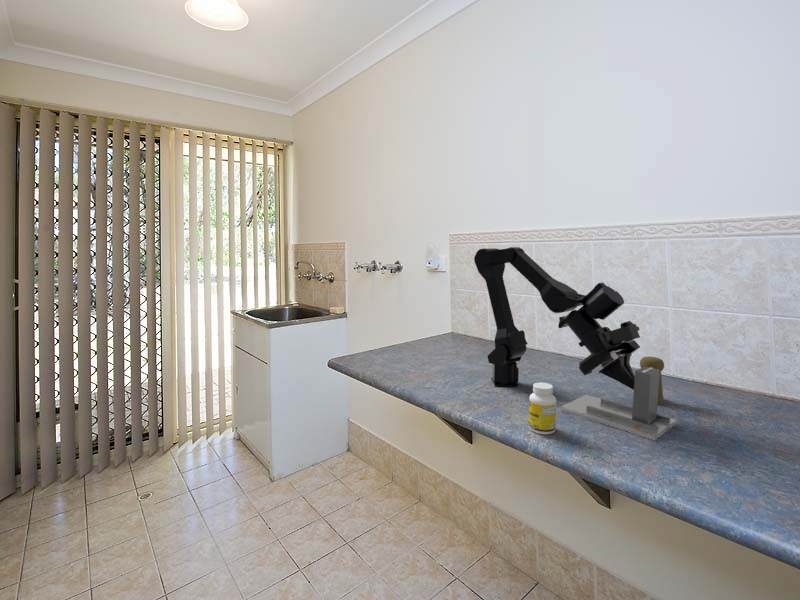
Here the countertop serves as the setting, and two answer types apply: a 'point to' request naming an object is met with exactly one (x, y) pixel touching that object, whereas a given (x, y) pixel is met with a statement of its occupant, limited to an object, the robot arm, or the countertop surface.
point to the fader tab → (645, 394)
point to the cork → (655, 364)
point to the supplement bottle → (542, 409)
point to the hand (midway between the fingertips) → (637, 388)
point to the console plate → (618, 416)
